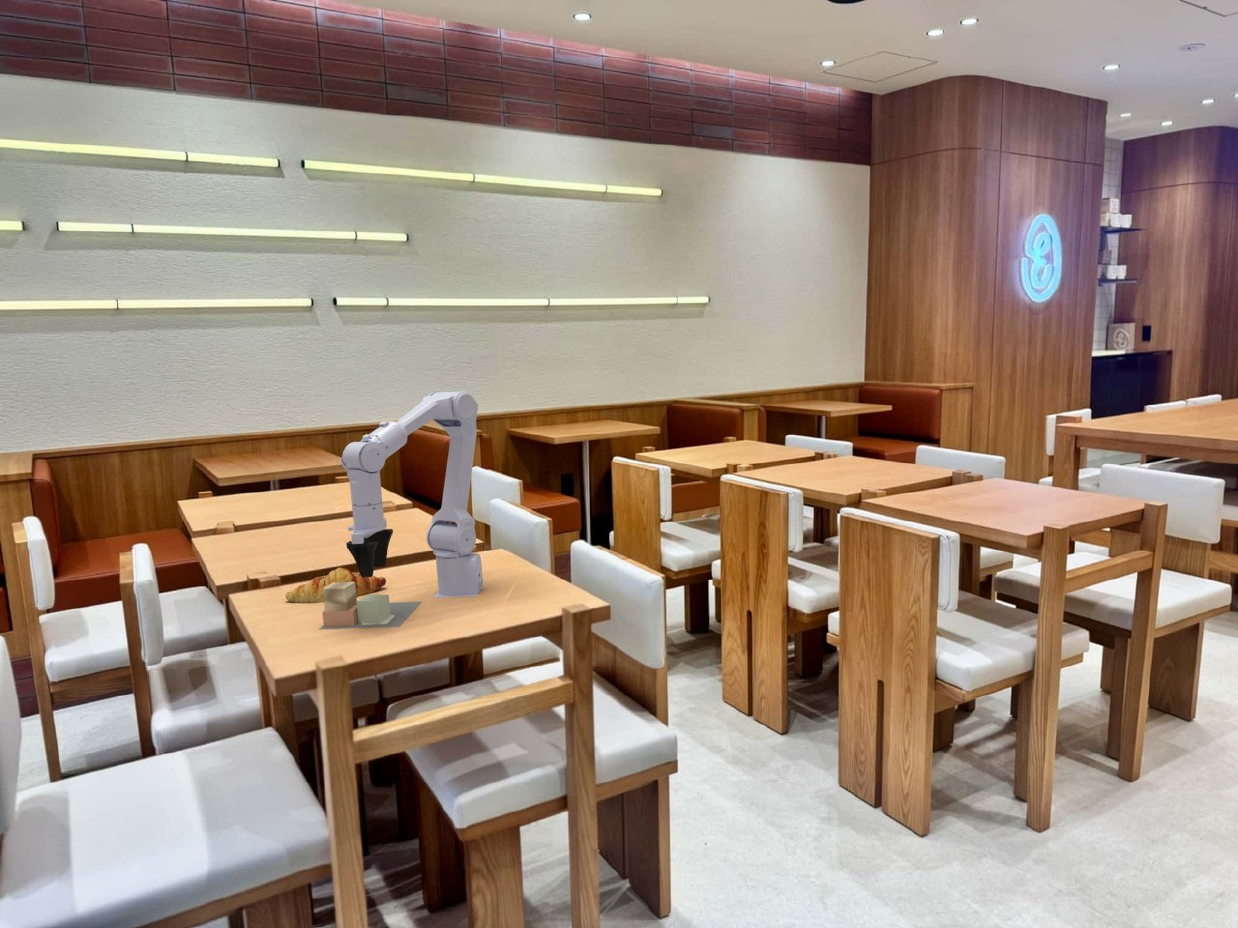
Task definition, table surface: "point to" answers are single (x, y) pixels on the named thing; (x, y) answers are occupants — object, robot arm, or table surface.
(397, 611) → the board
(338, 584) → the maple cube
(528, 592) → the table surface
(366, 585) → the croissant
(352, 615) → the terracotta slab
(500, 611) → the table surface
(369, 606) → the sage cube
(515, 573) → the table surface
